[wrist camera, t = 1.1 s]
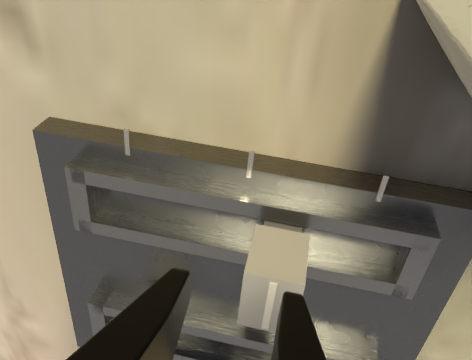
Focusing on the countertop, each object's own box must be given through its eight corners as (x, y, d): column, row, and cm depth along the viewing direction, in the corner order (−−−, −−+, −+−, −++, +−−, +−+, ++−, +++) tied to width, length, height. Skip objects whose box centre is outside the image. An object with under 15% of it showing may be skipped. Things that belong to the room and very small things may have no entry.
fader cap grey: (312, 207, 21) (305, 287, 17) (300, 255, 22) (291, 338, 18) (262, 197, 21) (243, 274, 17) (255, 246, 23) (236, 325, 19)
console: (495, 176, 20) (514, 213, 17) (380, 398, 31) (383, 437, 28) (45, 99, 22) (13, 122, 20) (87, 329, 33) (69, 360, 31)
